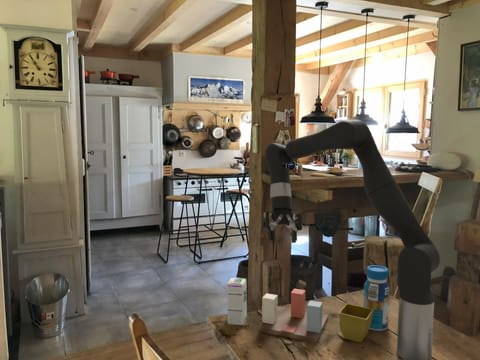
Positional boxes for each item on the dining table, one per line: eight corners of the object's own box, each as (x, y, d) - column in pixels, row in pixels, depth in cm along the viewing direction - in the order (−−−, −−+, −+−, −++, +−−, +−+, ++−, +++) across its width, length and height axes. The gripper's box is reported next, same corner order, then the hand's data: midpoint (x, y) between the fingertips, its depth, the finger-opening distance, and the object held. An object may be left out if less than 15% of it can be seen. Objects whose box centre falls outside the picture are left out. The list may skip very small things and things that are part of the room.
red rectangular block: (305, 313, 144) (305, 290, 143) (302, 318, 141) (302, 294, 140) (293, 311, 146) (294, 288, 145) (290, 316, 142) (291, 292, 141)
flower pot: (372, 335, 133) (373, 308, 132) (366, 347, 125) (367, 319, 124) (345, 328, 137) (346, 302, 136) (337, 340, 130) (338, 312, 128)
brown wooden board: (328, 318, 144) (328, 313, 144) (316, 343, 128) (316, 337, 128) (276, 309, 152) (276, 304, 151) (258, 331, 135) (259, 325, 135)
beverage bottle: (357, 321, 142) (359, 265, 140) (378, 318, 144) (381, 263, 142) (371, 333, 134) (373, 273, 132) (393, 330, 136) (396, 271, 134)
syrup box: (243, 325, 139) (244, 284, 137) (226, 324, 140) (226, 282, 139) (247, 318, 145) (247, 278, 143) (230, 316, 146) (230, 276, 144)
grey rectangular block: (321, 327, 134) (322, 302, 133) (319, 333, 130) (319, 307, 129) (309, 325, 136) (310, 300, 135) (306, 330, 132) (307, 305, 131)
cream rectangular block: (277, 319, 140) (277, 295, 139) (273, 324, 136) (273, 299, 135) (266, 317, 141) (266, 293, 140) (262, 322, 138) (262, 297, 137)
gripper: (267, 193, 143) (269, 240, 139) (303, 196, 149) (306, 241, 144) (258, 198, 150) (260, 243, 146) (293, 200, 155) (295, 244, 151)
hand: (283, 242), depth 145 cm, fingers open, 8 cm apart
